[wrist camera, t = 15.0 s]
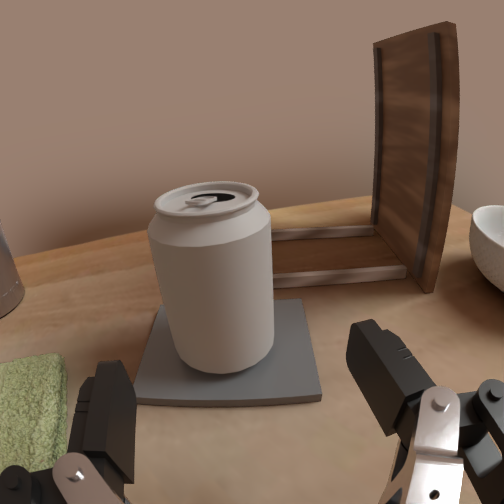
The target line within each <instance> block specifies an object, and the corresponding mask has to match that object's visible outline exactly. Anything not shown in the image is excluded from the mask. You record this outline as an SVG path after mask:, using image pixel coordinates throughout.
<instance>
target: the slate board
mask: <svg viewBox="0 0 504 504" xmlns="http://www.w3.org/2000/svg"><path fill="white" fill-rule="evenodd" d="M273 305H274V340H273V346H272V347H271V349H270V350H269V352H268V354H267V355H266V356H265V357H264V358H263V359H261V360H260V361H259V362H258V363H256V364H255V365H253V366H251V367H248V368H246V369H244V370H241V371H238V372H232V373H225V374H217V373H207V372H203V371H200V370H198V369H195V368H192V367H190V366H189V365H188V364H187V363H185V362H184V361H183V360H182V359H181V358H180V356H179V354H178V352H177V350H176V348H175V344H174V341H173V337H172V334H171V330H170V326H169V323H168V319H167V315H166V311H165V307H164V305H160V308H159V311H158V313H157V316H156V319H155V322H154V325H153V328H152V330H151V333H150V336H149V339H148V342H147V345H146V348H145V351H144V354H143V357H142V360H141V363H140V366H139V369H138V372H137V375H136V378H135V381H134V384H133V387H134V390H135V394H136V400H137V404H147V405H163V406H188V407H239V406H264V405H281V404H294V403H305V402H315V401H321V398H322V391H321V386H320V381H319V376H318V372H317V367H316V362H315V358H314V353H313V348H312V344H311V339H310V335H309V330H308V326H307V321H306V317H305V313H304V308H303V304H302V300H301V298H298V299H283V300H273Z"/></svg>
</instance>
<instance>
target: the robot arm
mask: <svg viewBox="0 0 504 504" xmlns="http://www.w3.org/2000/svg"><path fill="white" fill-rule="evenodd" d="M24 291H25V290H24V287H23V284H22V282H21V279H20V277H19V274H18V271H17V269H16V266H15V263H14V260H13V258H12V255H11V252H10V249H9V246H8V243H7V240H6V237H5V234H4V231H3V227H2V224H1V221H0V317H2V316H4V315H5V314H7V313H8V312H10V311H11V310H12V309H13V308H15V307H16V305H17V304H18V303H19V302H20V301H21V299H22V298H23V295H24ZM346 362H347V366H348V368H349V370H350V372H351V374H352V376H353V378H354V379H355V381H356V383H357V385H358V386H359V388H360V390H361V392H362V394H363V395H364V397H365V399H366V401H367V403H368V404H369V406H370V408H371V410H372V412H373V413H374V415H375V417H376V419H377V421H378V423H379V424H380V426H381V428H382V430H383V432H384V433H385V435H386V437H387V436H389V435H392V434H394V433H397V434H398V436H399V438H400V439H399V440H398V444H397V448H396V452H395V456H394V460H393V464H392V468H391V471H390V475H389V479H388V482H387V485H386V488H385V490H384V492H383V494H382V496H381V498H380V500H379V503H378V504H458V501H459V495H460V488H461V481H462V474H463V468H464V470H465V471H466V473H467V475H468V477H469V479H470V481H471V483H472V485H473V487H474V489H475V491H476V493H477V495H478V497H479V499H480V501H481V503H482V504H504V383H503V382H501V381H499V380H495V379H489V380H486V381H484V382H483V383H482V384H481V385H480V387H479V389H478V390H477V391H474V392H468V393H460V394H456V393H455V392H454V391H452V390H451V389H449V388H447V387H443V386H436V385H435V383H434V382H433V381H432V379H431V378H430V377H429V375H428V374H427V373H426V371H425V370H424V369H423V367H422V366H421V365H420V363H419V362H418V361H417V360H416V358H415V357H414V356H412V353H411V352H410V350H409V349H408V348H406V345H405V344H404V343H403V341H402V340H401V339H400V338H399V337H398V336H397V335H395V334H394V333H392V332H391V331H389V330H387V329H386V330H383V331H382V330H381V328H380V327H379V326H378V324H377V323H376V322H375V321H374V320H373V319H369V320H365V321H361V322H357V323H353V324H352V325H351V328H350V334H349V340H348V345H347V351H346ZM77 402H78V403H77V404H76V408H75V414H74V418H73V423H72V428H71V434H70V439H69V445H68V450H67V453H66V454H65V455H63V456H61V457H60V458H59V459H58V460H57V461H56V462H55V464H54V467H52V468H49V469H44V470H40V471H35V472H29V471H27V470H26V469H25V468H24V467H22V466H20V465H11V466H8V467H6V468H5V469H4V470H3V471H2V472H1V474H0V504H132V503H131V502H130V501H129V500H128V498H127V497H126V496H125V495H124V484H134V456H135V427H136V409H137V400H136V394H135V390H134V387H133V385H132V383H131V381H130V379H129V377H128V375H127V372H126V370H125V368H124V366H123V364H122V362H121V361H120V360H114V361H100V362H99V363H98V365H97V369H96V374H95V377H88V378H87V379H86V380H85V382H84V383H83V385H82V386H81V388H80V390H79V395H78V399H77ZM488 432H490V434H491V436H492V437H493V439H494V440H495V442H496V444H497V445H498V447H499V449H500V450H501V453H502V456H501V454H500V453H499V451H498V449H497V448H496V446H495V444H494V443H493V441H492V439H491V438H490V436H489V435H488Z"/></svg>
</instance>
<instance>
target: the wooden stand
mask: <svg viewBox="0 0 504 504" xmlns="http://www.w3.org/2000/svg"><path fill="white" fill-rule="evenodd" d="M373 52H374V73H375V158H374V179H373V196H372V209H371V221H370V222H371V225H359V226H336V227H315V228H295V229H276V230H271V241H277V240H295V239H313V238H333V237H352V236H373V232H374V229H375V230H376V231H377V232H378V234H379V235H380V236H381V237H382V238H383V240H384V241H385V242H386V243H387V245H388V246H389V247H390V248H391V250H392V251H393V252H394V253H395V255H396V256H397V257H398V258H399V260H400V261H401V262H402V263H403V265H395V266H382V267H369V268H356V269H342V270H327V271H312V272H296V273H280V274H273V288H288V287H303V286H318V285H331V284H344V283H357V282H368V281H380V280H391V279H402V278H406V273H407V270H408V271H409V272H410V274H411V275H412V276H413V278H414V279H415V280H416V282H417V283H418V284H419V286H420V287H421V288H422V290H423V291H424V292H425V293H431V292H433V290H434V287H435V283H436V279H437V275H438V270H439V266H440V262H441V257H442V253H443V248H444V243H445V238H446V233H447V227H448V221H449V216H450V209H451V202H452V196H453V188H454V180H455V171H456V161H457V149H458V132H459V103H460V102H459V101H460V97H459V96H460V93H459V92H460V88H459V86H460V85H459V57H458V42H457V32H456V24H454V23H451V22H448V21H445V22H441V23H438V24H434V25H430V26H427V27H423V28H419V29H416V30H413V31H409V32H406V33H403V34H400V35H396V36H394V37H390V38H388V39H384V40H381V41H379V42H376V43H373Z"/></svg>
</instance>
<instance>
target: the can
mask: <svg viewBox="0 0 504 504" xmlns="http://www.w3.org/2000/svg"><path fill="white" fill-rule="evenodd" d="M258 195H259V193H258V191H257V190H256V188H254V187H252V186H250V185H248V184H244V183H239V182H226V181H221V182H206V183H198V184H193V185H188V186H183V187H180V188H177V189H174V190H171V191H169V192H167V193H165V194H163V195H161V196H160V197H159V198H158V199H157V200H156V201H155V203H154V206H153V208H154V209H155V210H156V212H157V213H156V215H155V216H154V218H153V219H152V221H151V222H150V224H149V227H148V230H147V233H148V238H149V242H150V247H151V252H152V256H153V261H154V266H155V270H156V274H157V279H158V283H159V287H160V291H161V295H162V299H163V303H164V307H165V311H166V315H167V319H168V323H169V326H170V330H171V334H172V337H173V341H174V344H175V348H176V350H177V352H178V354H179V356H180V358H181V359H182V360H183V361H184V362H185V363H187V364H188V365H189V366H190V367H192V368H195V369H198V370H200V371H203V372H207V373H217V374H225V373H232V372H238V371H241V370H244V369H246V368H248V367H251V366H253V365H255V364H256V363H258V362H259V361H260V360H261V359H263V358H264V357H265V356H266V355H267V354H268V352H269V350H270V349H271V347H272V346H273V340H274V305H273V272H272V244H271V218H270V214H269V212H268V211H267V209H266V208H265V207H264V206H263V205H262V204H261V203H259V202H258V201H257V198H258Z"/></svg>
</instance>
